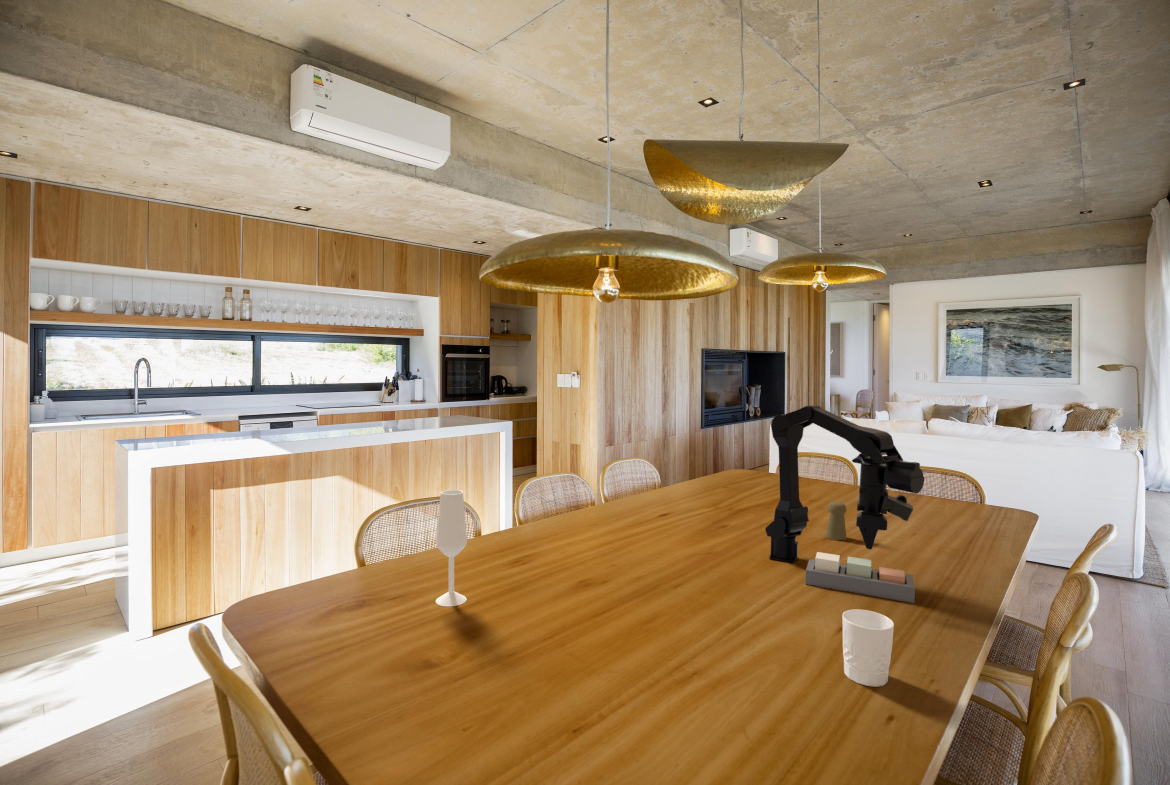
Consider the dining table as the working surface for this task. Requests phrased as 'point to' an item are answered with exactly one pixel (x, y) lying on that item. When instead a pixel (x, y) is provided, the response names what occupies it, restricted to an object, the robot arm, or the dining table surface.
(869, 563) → the sage key
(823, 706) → the dining table surface
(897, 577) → the terracotta key
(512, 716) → the dining table surface
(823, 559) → the cream key
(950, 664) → the dining table surface
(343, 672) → the dining table surface
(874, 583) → the keypad
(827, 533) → the olive pepper mill
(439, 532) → the champagne flute
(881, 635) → the white cup
